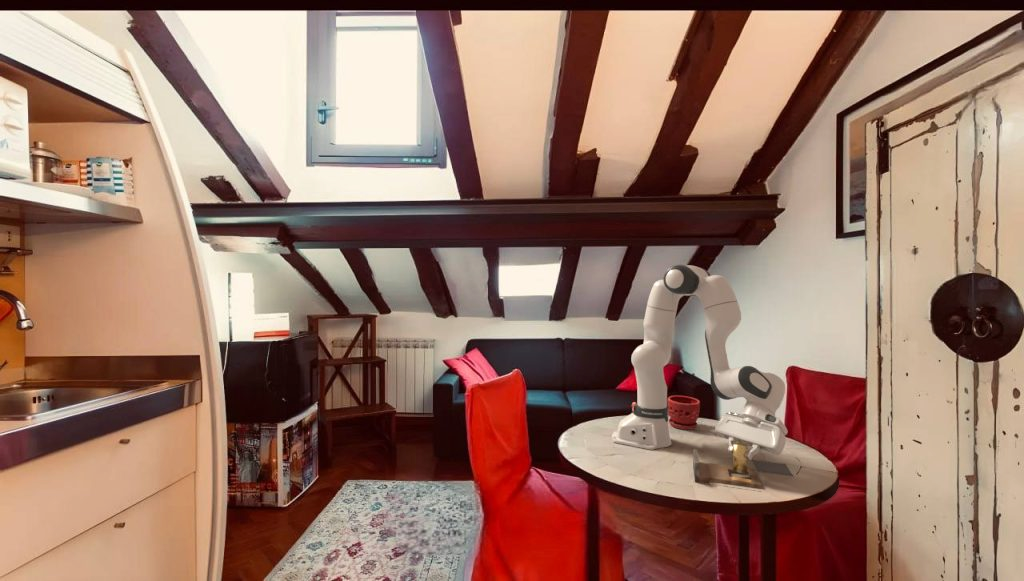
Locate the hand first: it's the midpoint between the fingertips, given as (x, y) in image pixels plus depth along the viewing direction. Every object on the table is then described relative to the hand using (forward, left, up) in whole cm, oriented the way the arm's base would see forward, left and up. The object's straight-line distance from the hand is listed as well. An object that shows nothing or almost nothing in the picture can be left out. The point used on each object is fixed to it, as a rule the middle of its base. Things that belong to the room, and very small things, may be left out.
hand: (738, 455), depth 131 cm
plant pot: (-15, +51, -8) cm, 53 cm away
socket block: (-4, +1, -8) cm, 9 cm away
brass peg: (0, +1, -5) cm, 5 cm away
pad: (+11, +13, -8) cm, 19 cm away
